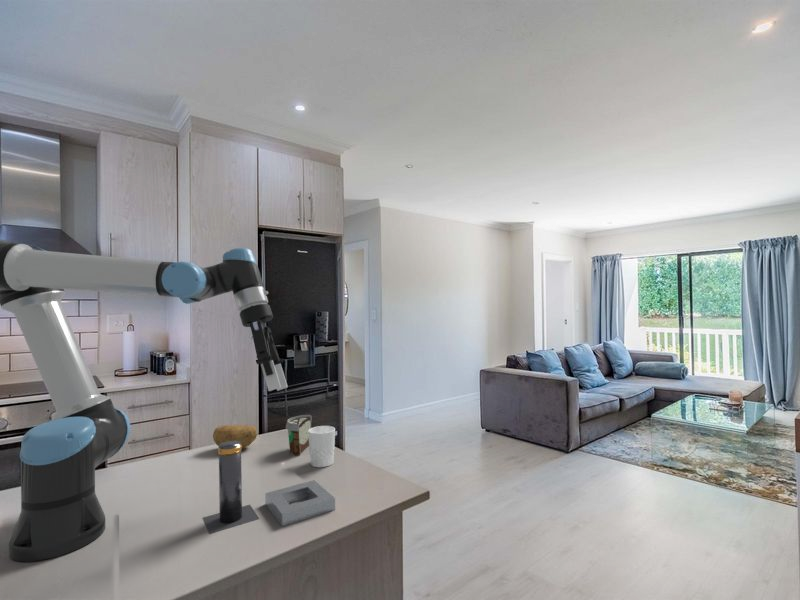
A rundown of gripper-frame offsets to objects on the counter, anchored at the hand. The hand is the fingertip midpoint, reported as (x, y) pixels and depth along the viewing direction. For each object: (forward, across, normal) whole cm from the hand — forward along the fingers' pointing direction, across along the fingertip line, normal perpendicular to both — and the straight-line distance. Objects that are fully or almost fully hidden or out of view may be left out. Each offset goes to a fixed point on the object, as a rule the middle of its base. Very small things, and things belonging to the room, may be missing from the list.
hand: (279, 389), depth 101 cm
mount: (+24, -4, +17) cm, 30 cm away
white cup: (+24, +26, -2) cm, 36 cm away
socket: (+28, -2, +3) cm, 28 cm away
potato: (+12, +44, +24) cm, 52 cm away
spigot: (+23, -4, +17) cm, 29 cm away
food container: (+19, +40, +5) cm, 44 cm away
